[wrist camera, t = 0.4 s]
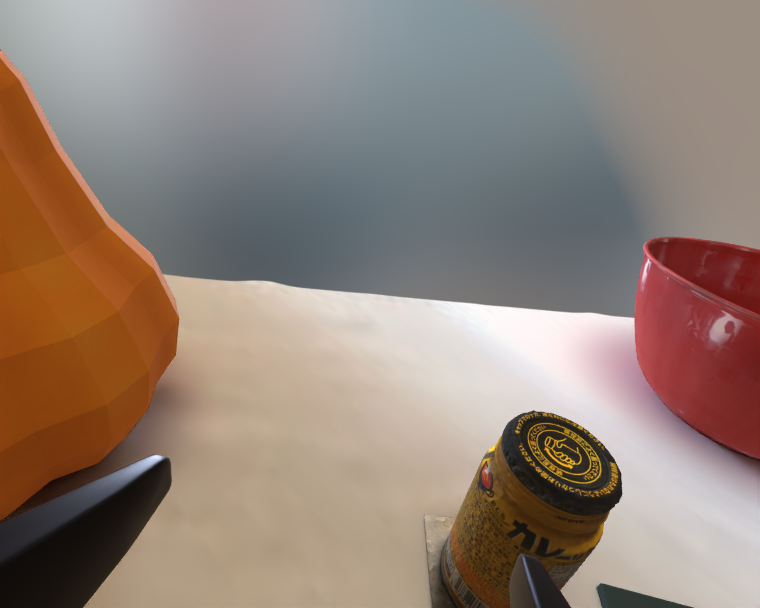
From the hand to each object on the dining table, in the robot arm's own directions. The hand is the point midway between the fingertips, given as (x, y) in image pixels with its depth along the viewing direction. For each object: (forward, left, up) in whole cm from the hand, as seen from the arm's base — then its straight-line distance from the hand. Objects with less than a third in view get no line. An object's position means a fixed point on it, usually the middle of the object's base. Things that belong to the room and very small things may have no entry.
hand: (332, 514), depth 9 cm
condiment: (+7, -9, -16) cm, 20 cm away
